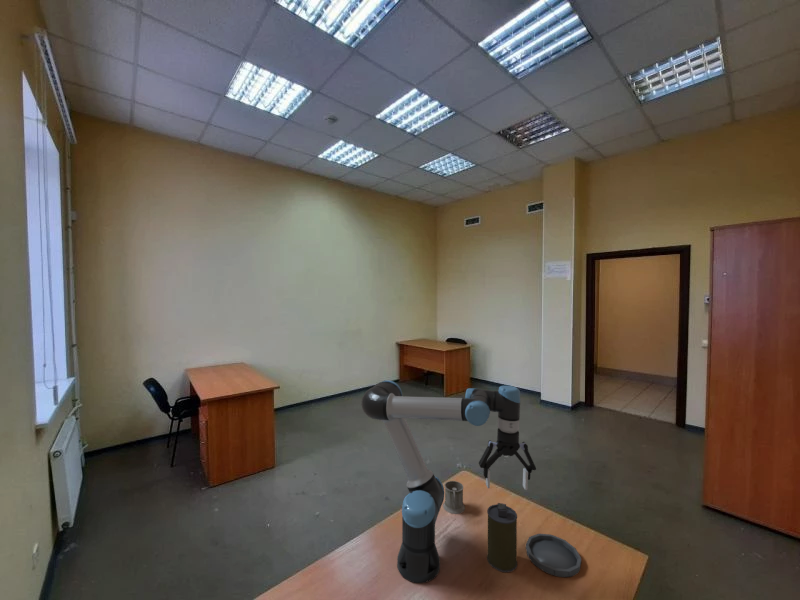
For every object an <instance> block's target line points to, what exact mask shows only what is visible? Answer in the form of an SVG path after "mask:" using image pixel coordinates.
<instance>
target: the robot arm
mask: <svg viewBox="0 0 800 600" xmlns="http://www.w3.org/2000/svg"><path fill="white" fill-rule="evenodd" d="M361 408H362V410H363V413H364V414H365V415H366V416H367V417H369V418H370V419H373V420H377V421H379V422H382V423H383V424H384V425H385V427H386V430H387V432H388V435H389V438H390V440H391V442H392V444H393V446H394V448H395V451H396V453H397V456H398V459H399V461H400V463H401V465H402V468H403V471H404V473H405V474H406V477H407V482H406V487H407V490H408V494H407V495H405V497H404V498H403V501H402V506H401V518H402V520H401V521H402V522H401V524H402V525H401V526H402V527H401V529H402V532H401V533H402V534H401V535H402V536H401V538H402V539H401V540H402V541H401V545H400V549H399V551H398V554H397V558H396V560H397V563H396V565H397V571H398V573H399V574H400V575H401V576H402V578H404V579H405V580H407V581H408V582H409V581H410V582H412V583H416V584H423V583H428V582H430V581H432V580H434V579H435V578H436V577H437V576H438V574H439V573H440V568H441V567H440V566H441V561H440V560H441V558H440V556H439V553H438V549H437V547H436V523H437V519H438V516H439V513H440V511H441V507H442V506H443V504H444V501H445V486H444V485H443V483H442V481H441V479H440V478H439V477H437V476H436V475H435V473H434V472H433V471H432V470H430V469H428V467H427V464H426V462H425V461H424V458H423V456H422V453H421V451H420V450H419V447H418V445H417V442H416V440H415V438H414V435H413V432H412V431H411V429H410V428H411V427H410V426H409V424H408V422H407V421H408V420H407V419H413V420H415V419H416V420H432V421H433V420H434V421H435V420H436V421H454V422H456V421H457V422H468V423H469V424H471V425H472V426H475V427H480V426H483V425H484V424H486V423H487V421H488V419H489V418H490V414H491V412H492V413H497V437H496V442H494V441H492V440H488V442H487V446H486V449H485V451H484V452H483V454H482V455H481V458H480V459H479V461H478V466H479V467H480V468H481V469H483V477H484V478H485V485H486V487H487V489H490V488H491V487H490V486H491V469H490V468H491V467H492V466H493V464H495V463H496V462H497V460H498V459H499V458H500V457H502V456H504V457H507V456H510V457H513V456H514V455H515V457H516V458H517V459H518V460H519V462H520V463H521V464H522V465H523V469H522V487H523V489H524V490H525V491H528V485H529V484H528V483H529V482H528V481H530V480H531V473H532V472H533V471H536V470H537V468H536V464H535V463H534V460H533V459H532V456H531V454H530V452H529V447H528V444H527V443H526V442H525V441H523V442H520V432H519V431H520V416H521V414H520V413H521V391H520V389H519V388H518V387H516V386H513V385H500V386H499V387H498V390H489V389H483V388H482V389H481V388H477V387H476V388H471V387H470V388H467V389H466V391H465V396H464V397H463V398H462V397H437V396H436V397H434V396H403V391H402V388H401V387H400V385H399V384H398V383H397V382H395V381H393V380H388V379H387V380H383V381H379V382H378V383H376V384H375V385H374V386H372V387H370V388H369V389H367V390H366V391H365V392H364V394H363V396H362V398H361ZM495 448H496V449H495ZM520 448H521V450H522V451H523V453H524V455H525V457H526V459H527V462H528V463H529V464H527V463H526V461H525V460H524V458H523V457H522V456H521V455H520V454H519V452H518V450H519V449H520ZM493 449H495V450H494V452H493ZM491 453H493V454H492V455H491Z"/></svg>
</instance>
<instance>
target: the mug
mask: <svg viewBox="0 0 800 600" xmlns="http://www.w3.org/2000/svg"><path fill="white" fill-rule="evenodd" d="M442 507H443V509H444V511H445V512H447V513H449V514H452V515H453V514H454V515H459V514H460V515H461V514H463V513H464V511H465V510H466V507H465V504H464V484H463V483H461V482H459V481H456V480H449V481H446V482H445V483H444V502H443V503H442Z"/></svg>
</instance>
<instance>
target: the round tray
mask: <svg viewBox="0 0 800 600" xmlns="http://www.w3.org/2000/svg"><path fill="white" fill-rule="evenodd" d="M525 550H526V554H527V557H528V559H529V560H530V562H531V563H532V564H533V565H534V566H535V567H537V568H538V569H539V570H541V571H542V572H544V573H546V574H548V575H551V576H555V577H559V578H570V577H574V576H576V575H578V573H580V571H581V565H582V557H581V556H580V553H579V551H578V549H576V548H575V546H573V545H572V544H571V543H569V542H568V541H567V540H565V539H563V538H561V537H559V536H556V535H553V534H550V533H536V534H533V535H530V536H529V537H528V539H527V541H526V543H525Z"/></svg>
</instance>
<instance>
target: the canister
mask: <svg viewBox="0 0 800 600" xmlns="http://www.w3.org/2000/svg"><path fill="white" fill-rule="evenodd" d="M486 511H487V512H486V513H487V554H486V559H487V562H488V564H489V565H490V566H491V568H492V569H495V570H496V571H498V572H501V573H511V572H513V571H515V569H517V567H518V561H517V557H518V556H517V553H518V552H517V551H518V549H517V544H518V543H517V541H518V540H517V530H518V529H517V528H518V527H517V525H518V524H517V523H518V522H517V521H518V514H517V513H516V511H515V510H514V509H513V508H512V507H509V506H508V505H507V504H505V503H501V502H497V504H492V505H490V506H488V508H487V510H486Z"/></svg>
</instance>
